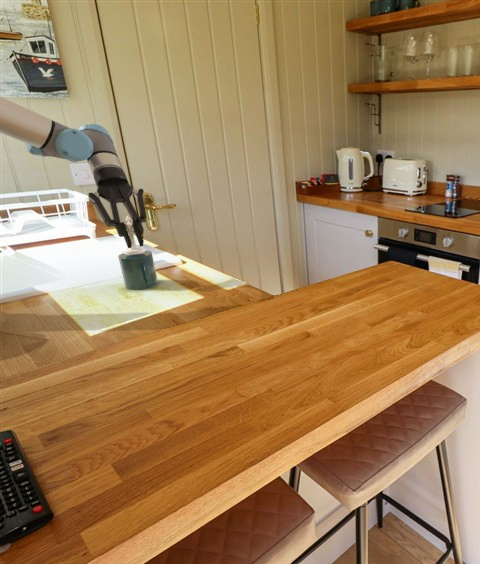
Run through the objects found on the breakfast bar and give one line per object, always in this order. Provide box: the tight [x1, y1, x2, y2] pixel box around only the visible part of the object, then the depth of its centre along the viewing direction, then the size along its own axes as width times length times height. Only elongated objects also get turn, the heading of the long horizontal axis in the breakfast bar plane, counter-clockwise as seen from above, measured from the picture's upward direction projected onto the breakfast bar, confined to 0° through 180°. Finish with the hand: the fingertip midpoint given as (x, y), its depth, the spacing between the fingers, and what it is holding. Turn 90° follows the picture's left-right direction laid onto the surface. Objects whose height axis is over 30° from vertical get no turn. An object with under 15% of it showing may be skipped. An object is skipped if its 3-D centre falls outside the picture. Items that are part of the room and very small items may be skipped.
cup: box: [117, 249, 159, 291], centre depth 118 cm, size 10×8×9 cm
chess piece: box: [123, 215, 146, 255], centre depth 115 cm, size 5×5×10 cm
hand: (135, 244), depth 113 cm, fingers closed on chess piece, 2 cm apart
